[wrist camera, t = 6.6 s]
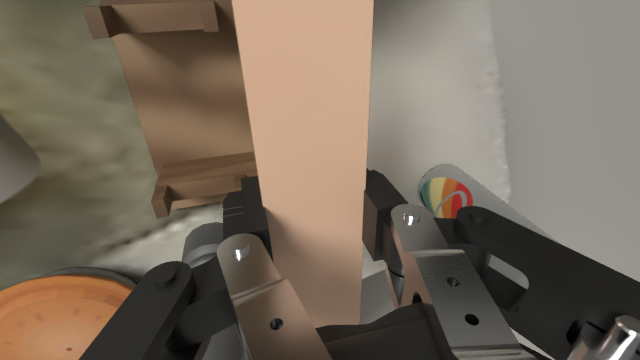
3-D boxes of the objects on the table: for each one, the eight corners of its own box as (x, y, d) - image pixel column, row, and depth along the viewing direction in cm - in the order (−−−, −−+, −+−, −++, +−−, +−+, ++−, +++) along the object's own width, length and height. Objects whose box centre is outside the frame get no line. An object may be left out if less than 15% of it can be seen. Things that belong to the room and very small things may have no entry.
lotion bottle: (407, 195, 38) (554, 358, 21) (438, 155, 36) (625, 297, 19) (439, 210, 40) (593, 367, 23) (470, 173, 38) (660, 314, 22)
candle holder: (243, 266, 37) (267, 631, 16) (185, 269, 35) (122, 685, 14) (246, 221, 34) (279, 594, 13) (182, 222, 32) (100, 656, 11)
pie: (133, 231, 31) (118, 268, 27) (187, 328, 40) (183, 367, 35) (-46, 275, 29) (-92, 322, 25) (50, 368, 37) (28, 415, 33)
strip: (218, -85, 9) (214, -116, 6) (338, -85, 10) (378, -112, 7) (280, 326, 18) (289, 380, 16) (340, 311, 19) (358, 361, 16)
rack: (87, -54, 21) (32, -73, 15) (302, -56, 23) (327, -72, 18) (170, 204, 31) (157, 253, 25) (313, 182, 34) (332, 222, 28)
